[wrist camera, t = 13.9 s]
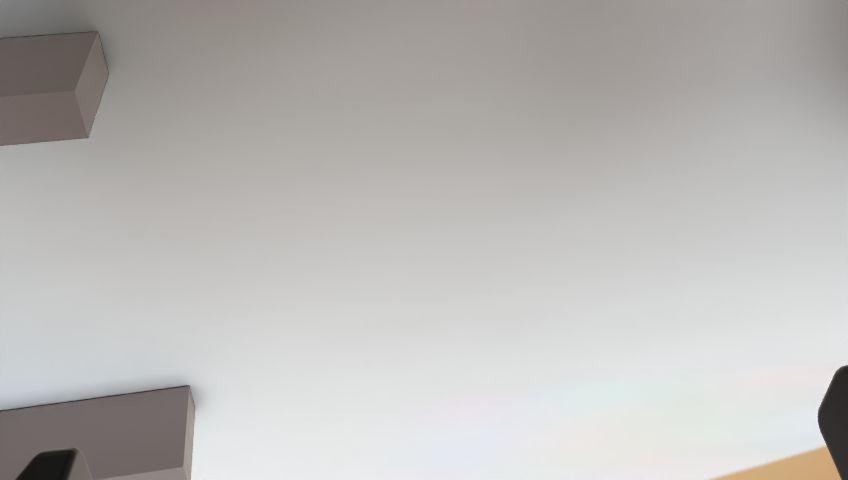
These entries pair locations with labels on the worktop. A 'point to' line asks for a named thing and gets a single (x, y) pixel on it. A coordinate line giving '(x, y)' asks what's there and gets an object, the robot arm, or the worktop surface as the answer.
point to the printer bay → (103, 417)
